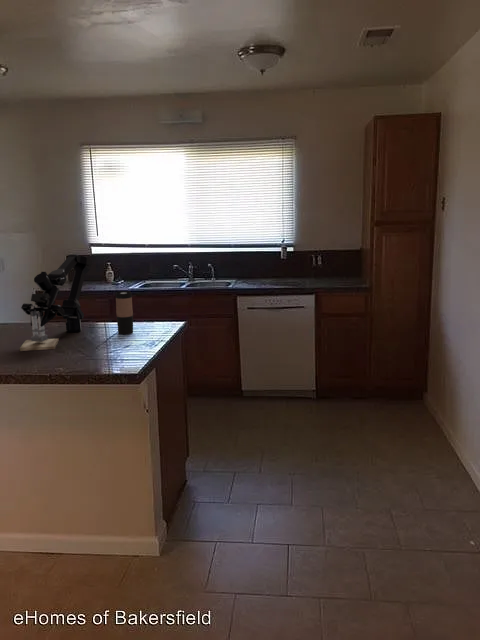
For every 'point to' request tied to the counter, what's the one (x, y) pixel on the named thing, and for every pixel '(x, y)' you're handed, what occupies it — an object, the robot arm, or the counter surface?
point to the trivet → (39, 345)
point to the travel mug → (124, 312)
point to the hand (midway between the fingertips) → (36, 325)
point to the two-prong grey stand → (35, 330)
